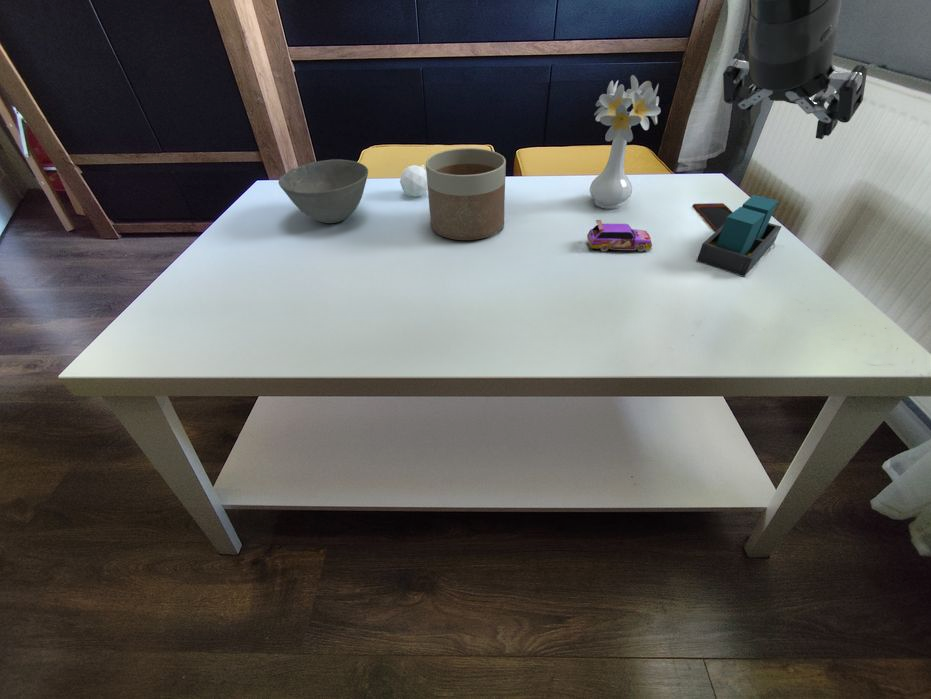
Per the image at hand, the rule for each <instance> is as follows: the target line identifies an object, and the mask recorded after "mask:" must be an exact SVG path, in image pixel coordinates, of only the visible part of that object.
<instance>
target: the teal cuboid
mask: <svg viewBox="0 0 931 699" xmlns="http://www.w3.org/2000/svg"><path fill="white" fill-rule="evenodd" d="M778 203H779V200H777V199H773V198H768V197H765V196H760V195H756V194H752V195H751V197H749V198H748V199H747V200H746V201H745V202H743V203H742V206H741V207H742V208H746V209H750V210H753V211H757V212H760V213H764V214H766V215H765V217H764V219H763V222H762V224H761V226H760V228H759V231H758V233H757V235H756V238H759V239H762V237H763V234H764V232H765V230H766V228H767V225H768V223H770V221H771V219H772V216H773V214H774V212H775V210H776V208H777V205H778Z"/></svg>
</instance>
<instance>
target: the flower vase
mask: <svg viewBox="0 0 931 699" xmlns="http://www.w3.org/2000/svg"><path fill="white" fill-rule="evenodd" d="M618 84H619V80H617V81H616V82H615V83H614V81H613V80H611V81H610V82H609V83H608V86H607V90H606V93H602V94H600V96H599V97H598V98H599V99H598V100H597V101H596V103H595V107H599V108H597V110H596V111H595V112H594V113H593V116H595V121H596V122H600V123H601V124H602V125H604V126H608V127H609V129H608V130H607V131H606V133H605V135H604V136H605V138H604V139H605V141H606V142H611V141H612V143H611V147H610V150H609V156H608V159H607V162H606V165H605V167H604V168H603V169H602V172H601V173H600V174H599V175H597V176H596V177H595V178H594V179H593V180H592V181H591V184H590V186H589V189H588V190H589V193H590V196H591V197H592V199H593V200H594V204H595V206H596V207H599V208H600V209H604V210H605V209H606V210H615V209H619V208H620V207H621V206H622V205H623V203H624V202H626V201H627V200H628V199H629V198H630V197H631V196H632V193H633V185H632V182H631V181H630V179H629V178H628V176H627V174H626V170H625V156H626V151H627V144H628V143H631V142H632V141H633V139H634V134H633V132H632V129H631V128H632V127H633V126H637V125H639V124H640V126H641V128H642V129H643V130H644V131H648V130H649V129H650V121H649V118H648V117H650V118H651V120H652V122H653V124H654V125H655V126H656V125H658V115H660V114H661V112H662V111H661V107H659V103H660V97H659V96H658V95H657V93H658V90H659V83H657V85H656V87H655V89H654V88H653V86H652V85H653V84H652V82H651V81H650V80H646V81H644V82H642V84H641V85H639V81H638V78H637V77H636V76H635V75H633V74H632V75H631V76H630V88H628V89H626V91H625V86H624V84H622V83H621V84H619V85H618ZM630 106H632V109H631V111H628V108H630Z"/></svg>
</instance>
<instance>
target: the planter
mask: <svg viewBox="0 0 931 699" xmlns="http://www.w3.org/2000/svg"><path fill="white" fill-rule="evenodd" d="M506 165H507V160H506V158H505V157H504V155H502V154H500V153H499V152H497V151H494V150H490V149H484V148H476V147H475V148H473V147H461V148H452V149H447V150H442V151H439V152H437V153H435V154H433V155H431V156H429V157H428V158H427V160H426V161H425V171H426V173H427V186H428V190H427V193H428V194H427V196H428V208H429V220H430V221H429V222H430V227H431V229H432V230H433V232H435V233H436V234H437V235H439V236H441V237H443V238H447V239H450V240H455V241H457V240H458V241H475V240H481V239H485V238H489V237H491V236H493V235H495V234H497V233H499V231H501V229H502V228H503V227H504V224H505V203H506V202H505V201H506V198H505V197H506V170H507V167H506Z"/></svg>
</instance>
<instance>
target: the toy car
mask: <svg viewBox="0 0 931 699" xmlns="http://www.w3.org/2000/svg"><path fill="white" fill-rule="evenodd" d="M595 221H596V225H595V226H594V227H593V228H591V229H589V231H588V233H587V234H586V238H587V242H588V245H589V248H590V249H600V251H601V252H603V253H606V252H607V251H609V249H610V250H616V251H617V250H618V251H636V250H637V251H638V252H640V253H641V252H644V251H645V250H652V247H653V242H652V238H651V236H650V234H649V232H648V231H647V230H644V229H634V228H631V226H630V224H628V223H602V221H601V219H596V220H595Z"/></svg>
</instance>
